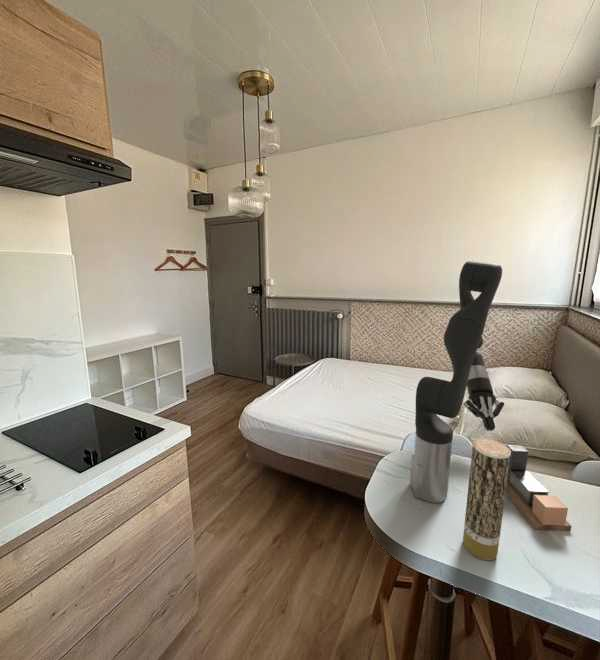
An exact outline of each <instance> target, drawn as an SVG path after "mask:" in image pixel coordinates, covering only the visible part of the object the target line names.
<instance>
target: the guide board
mask: <svg viewBox="0 0 600 660" xmlns="http://www.w3.org/2000/svg"><path fill="white" fill-rule="evenodd" d="M505 496H507V498H509V500H510V501H511V502H512V503H513V505H514V506H515V507H516V509H518V510H519V512H520V513H521V514H522V516H524V518H525V519H526V520H527V521H528V522H529V524H530V525H531V526H532V527H533V529H534V530H535V531H552V532H553V531H554V532H555V531H556V532H557V531H558V532H571V530H572V527H573V525H571V524H570V523H569V521H567V520H566V523H565V526H562V525H543V524H542V523H541V522H540V521H539V519H538V518H537V517H536V516H535V515H534V514H533V513H532V508H533V506H527V505H526V504H525V503H524V502H523V500H522V499H521V498H520V497H519V496H518V495H517V494H516V493H515V491H514V490H513V489H512V488H511V487H510V486H509V482H508V481H507V486H506V494H505Z"/></svg>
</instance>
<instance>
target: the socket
mask: <svg viewBox="0 0 600 660" xmlns="http://www.w3.org/2000/svg"><path fill="white" fill-rule="evenodd" d="M568 511H569V507H567V505H566V504H565V503H564V502H562V501H561V499H559V498H558V496H556V495H548V496H544V495H534V501H533V508H532V513H533V514H534V515H535V516H536V517H537V518H538V519H539V521H540V522H541V523H542V524H543V525H562V526H565V523H566V521H567V515H568Z"/></svg>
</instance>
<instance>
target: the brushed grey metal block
mask: <svg viewBox="0 0 600 660" xmlns="http://www.w3.org/2000/svg"><path fill="white" fill-rule="evenodd" d="M506 446H507V447H508V448H509V449H510V451H511V456H510V464H509V471H508V479H507V481H508V482H509V481H510V474H511V471H519V472H527V464H528V463H527V462H528V457H529V450H527V448H525V447H524V446H523V445H520V444H515V445H514V444H507V445H506ZM534 495H544V496H546V495H545V494H544V493H531V499H530V503H531V504H532V505H533V501H534Z"/></svg>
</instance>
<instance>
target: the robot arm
mask: <svg viewBox="0 0 600 660" xmlns="http://www.w3.org/2000/svg"><path fill="white" fill-rule="evenodd" d="M461 267H462V268H461V270H460V273H459V274H460V275H459V278H458V291H459V292H458V293H459V294H458V295H459V306H460V309H459V310H458V311H456V312H455V313H454V314H453V315H452V316H451V317H450V318H449V319H448V320H449V322H448V323H447V327H446V329H445V332H444V335H443V342H444V343H443V344H444V347H445V349H446V352H447V354H448V357H449V360H450V362H451V365H452V370H453V372H452V378H451V380H450V381H449V380H445V379H440V378H436V377H433V376H424V377H422V378H421V379H420V380H419V382H418V384H417V386H416V390H415V391H416V392H415V418H414V420H415V422H414V424H415V440H414V454H411V462H410V463H411V464H410V476H409V485H410V488H411V490H412V491H413V494H414V496H415V498H416V499H421V500H423V501H425V502H429V503H432V504H433V503H437V504H438V503H442V502H444V501H446V500H447V499H448V498H447V497H448V491H449V480H450V470H451V469H450V468H451V457H452V447H453V446H452V445H453V436H454V433H453V432H454V431H453V428H452V426H451V425H450V424H448V423H447V422H446V421H444V420H443V419H442V418H440V417H445V418H448V419H455V418H456V417H457V416H458V415H460V411H461V409H462V406H464V407H465V408H466V409H468V411H469V412H470V413H472V415H474V417H475V418H480V419H481V420H482V424H483V428H485V430H486V431H488V432H489V431H494V430H495V428H496V424H495V421H494V419H495V418H496V417H499V415H500V413H501V412H502V409H503V408H504V406H505V402H503V401H500V400H497V398H496V396H495V395H494V390H493V387H492V382H491V379H490V377H489V375H490V374H489V373H488V370H487V369H486V365H485V360H484V358H483V355H482V354H481V353H480V352H477V350H479V349H481V348H482V347H483V345H484V339H483V333H484V329H485V326H486V324H487V323H486V322H487V318H488V315H489V312H490V311H489V310H490V308H491V305H492V303H493V300H494V299H495V298H494V297H495V295H496V293H497V291H498V288H499V286H500V283H501V280H502V276H503V268H502V265H500V264H498V263H494V262H486V261H485V262H484V261H474V260H469V261H466V262H465V263H464V264H463V266H461ZM472 292H476V293H480V294H479V295H478V296H477V297H476V298H474V296H473V294H472ZM466 391H467V392H468V395H469V396H468V399H467V400H466V401H464V399H465V395H466ZM493 408H494V409H493Z"/></svg>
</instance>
